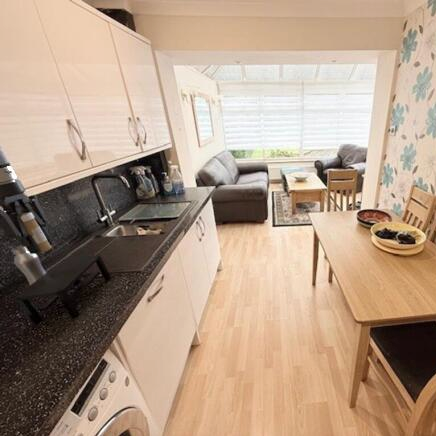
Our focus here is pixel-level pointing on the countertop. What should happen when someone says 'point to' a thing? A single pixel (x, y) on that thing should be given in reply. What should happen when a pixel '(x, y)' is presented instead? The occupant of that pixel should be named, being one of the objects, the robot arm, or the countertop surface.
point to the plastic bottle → (28, 264)
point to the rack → (61, 285)
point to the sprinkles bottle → (35, 231)
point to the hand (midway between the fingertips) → (42, 248)
